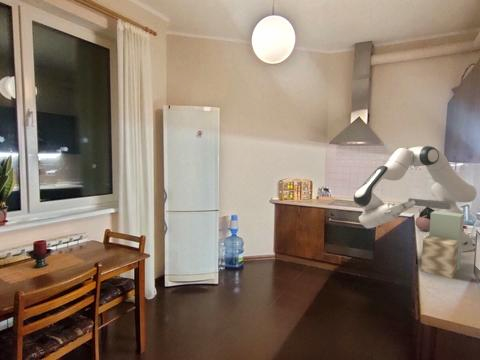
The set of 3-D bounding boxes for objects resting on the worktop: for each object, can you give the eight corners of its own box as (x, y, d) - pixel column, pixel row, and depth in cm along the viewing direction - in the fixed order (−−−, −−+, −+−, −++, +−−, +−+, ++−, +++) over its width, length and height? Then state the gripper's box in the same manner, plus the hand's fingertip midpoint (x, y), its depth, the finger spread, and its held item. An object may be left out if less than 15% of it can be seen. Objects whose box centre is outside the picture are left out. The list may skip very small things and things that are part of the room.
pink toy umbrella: (437, 231, 220) (438, 216, 219) (429, 233, 213) (430, 217, 212) (419, 228, 229) (420, 213, 229) (411, 230, 223) (412, 214, 222)
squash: (445, 218, 242) (431, 203, 247) (443, 221, 231) (428, 206, 236) (428, 227, 250) (415, 212, 255) (426, 231, 238) (412, 216, 243)
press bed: (420, 270, 141) (423, 239, 140) (426, 265, 148) (428, 235, 147) (451, 278, 133) (454, 245, 132) (455, 272, 140) (458, 240, 139)
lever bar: (451, 208, 138) (451, 202, 138) (449, 209, 135) (449, 203, 134) (410, 204, 150) (410, 198, 150) (407, 205, 146) (407, 198, 146)
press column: (427, 264, 150) (430, 212, 148) (431, 259, 157) (435, 210, 155) (456, 271, 142) (460, 216, 140) (460, 265, 149) (464, 213, 147)
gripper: (379, 208, 148) (407, 197, 139) (392, 204, 163) (418, 193, 154) (385, 220, 146) (413, 209, 137) (398, 215, 161) (425, 205, 152)
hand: (416, 201), depth 146 cm, fingers closed on lever bar, 2 cm apart
